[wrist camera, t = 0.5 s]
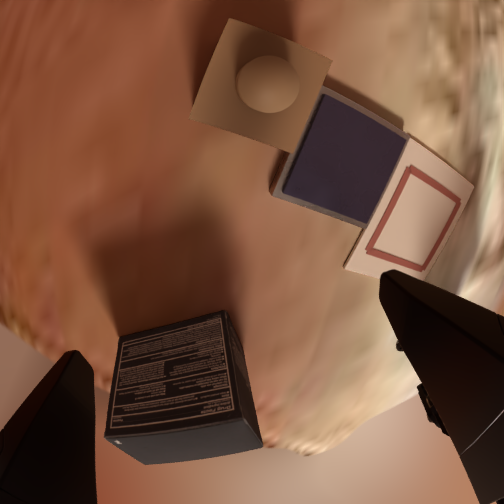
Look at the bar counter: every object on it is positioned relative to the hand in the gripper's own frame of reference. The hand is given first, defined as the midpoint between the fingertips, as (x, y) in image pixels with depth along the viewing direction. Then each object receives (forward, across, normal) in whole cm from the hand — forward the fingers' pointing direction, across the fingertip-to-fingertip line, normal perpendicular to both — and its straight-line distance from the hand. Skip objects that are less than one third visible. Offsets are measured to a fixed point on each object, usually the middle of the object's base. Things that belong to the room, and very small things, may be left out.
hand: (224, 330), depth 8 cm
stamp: (+14, -4, -5) cm, 15 cm away
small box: (+14, +7, +14) cm, 21 cm away
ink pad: (+14, -9, +1) cm, 16 cm away
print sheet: (+14, -16, +8) cm, 22 cm away
